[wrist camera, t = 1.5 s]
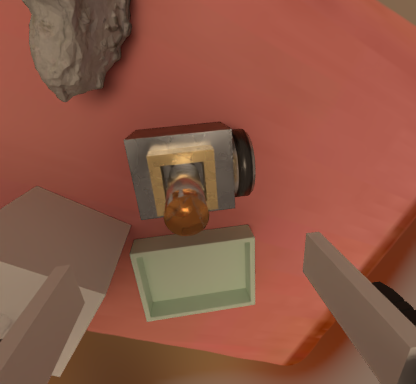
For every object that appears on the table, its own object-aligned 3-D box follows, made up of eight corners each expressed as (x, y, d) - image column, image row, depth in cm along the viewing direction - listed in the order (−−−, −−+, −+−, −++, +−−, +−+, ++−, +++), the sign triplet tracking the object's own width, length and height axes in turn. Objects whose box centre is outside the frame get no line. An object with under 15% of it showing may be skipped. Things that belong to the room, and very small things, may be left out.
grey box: (131, 225, 38) (60, 418, 15) (90, 301, 43) (-10, 533, 20) (35, 185, 34) (-259, 369, 11) (1, 274, 39) (-250, 529, 16)
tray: (149, 303, 45) (147, 321, 41) (134, 239, 39) (129, 254, 36) (249, 287, 47) (255, 304, 43) (247, 224, 41) (254, 237, 37)
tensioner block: (148, 195, 37) (138, 230, 27) (135, 130, 33) (118, 144, 23) (242, 183, 38) (264, 214, 28) (240, 119, 34) (265, 129, 24)
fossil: (117, 110, 32) (70, 122, 18) (65, 90, 30) (-30, 87, 16) (155, -42, 26) (129, -194, 12) (94, -76, 25) (-13, -292, 11)
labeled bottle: (171, 192, 28) (167, 238, 19) (166, 164, 27) (160, 199, 18) (200, 189, 29) (210, 232, 20) (197, 160, 27) (207, 193, 18)
